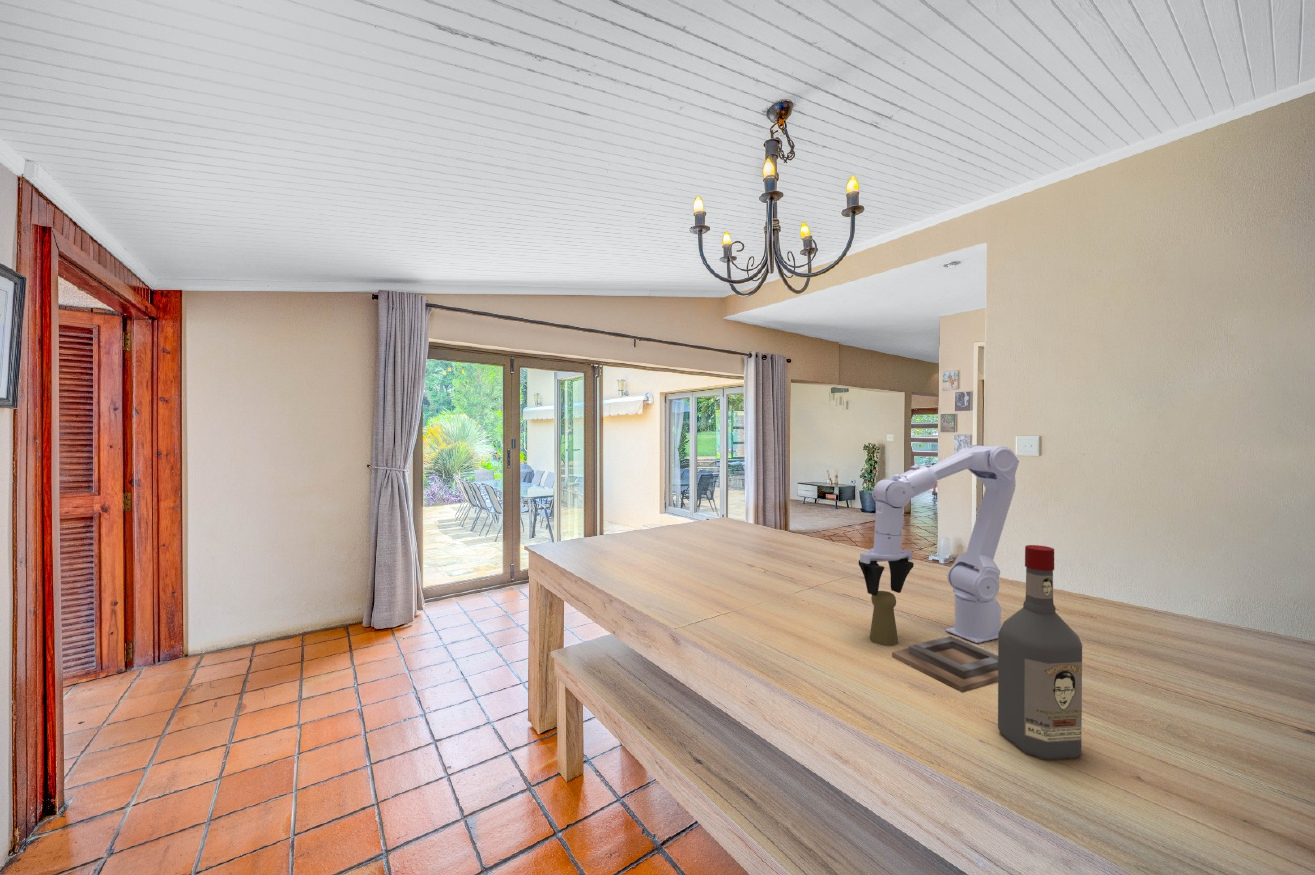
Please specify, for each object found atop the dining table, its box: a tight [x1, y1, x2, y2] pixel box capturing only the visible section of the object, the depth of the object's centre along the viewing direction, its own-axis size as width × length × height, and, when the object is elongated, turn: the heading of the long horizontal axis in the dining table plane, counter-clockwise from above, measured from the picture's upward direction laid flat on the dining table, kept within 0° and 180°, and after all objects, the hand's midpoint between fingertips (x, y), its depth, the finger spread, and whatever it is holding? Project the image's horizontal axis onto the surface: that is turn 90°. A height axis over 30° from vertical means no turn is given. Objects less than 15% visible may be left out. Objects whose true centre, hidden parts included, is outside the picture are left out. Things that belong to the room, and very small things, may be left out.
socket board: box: [891, 635, 998, 693], centre depth 106 cm, size 18×16×2 cm
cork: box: [869, 590, 899, 647], centre depth 118 cm, size 6×6×11 cm
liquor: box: [997, 544, 1083, 761], centre depth 80 cm, size 9×9×30 cm
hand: (884, 593), depth 118 cm, fingers open, 7 cm apart
